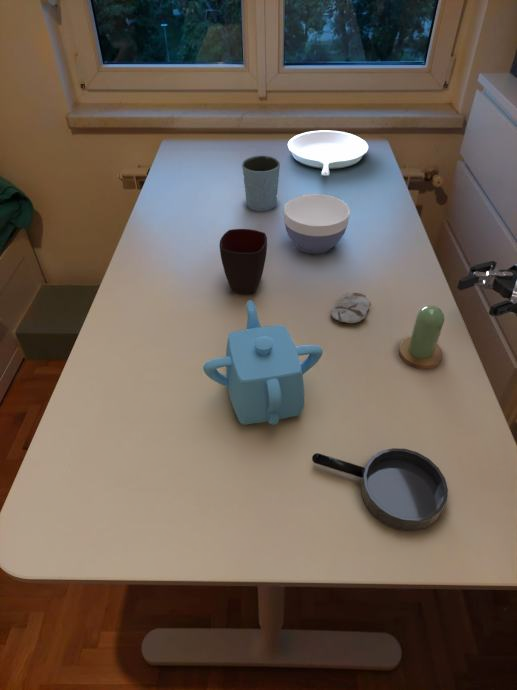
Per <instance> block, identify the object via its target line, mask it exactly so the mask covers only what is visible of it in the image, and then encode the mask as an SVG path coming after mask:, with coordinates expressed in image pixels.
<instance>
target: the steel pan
mask: <svg viewBox="0 0 517 690" xmlns="http://www.w3.org/2000/svg"><path fill="white" fill-rule="evenodd" d="M364 468H365V471H364V474H363V478H362V479H361V483H360V485H361V486H360V491H361V497H362V500H363V502H364V504H365V506H366V508H367V510H369V512H370V513H371V514H372V515H373V516H374V517H375V518H376V519H377V520H378V521H380V522H381V523H383V525H386V526H388V527H391V528H392V529H395V530H399V531H405V532H414V531H421V530H424V529H426V528H428V527H430V526H431V525H433V524H434V523H435V522H436V521H437V520H438V518H439V517H440V515H441V514H442V512H443V510H444V507H445V506H446V504H447V501H448V493H449V489H448V485H447V481H446V478H445V476H444V474H443V473H442V471H441V469H440V468H439V467H438V465H436V464H435V463H434V462H433V461H432V460H431V459H430V458H428V456H427V457H426V456H425V455H423V454H421V453H419V452H417V451H416V450H415V451H414V450H411V449H407V448H399V447H396V448H395V447H392V448H388V449H383V450H381V451H379V452H377V453H376V454H374V455H372V456H371V457H370V459H369V460H368V461H367V463H366V464H365V466H364Z"/></svg>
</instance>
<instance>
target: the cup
mask: <svg viewBox="0 0 517 690" xmlns="http://www.w3.org/2000/svg"><path fill="white" fill-rule="evenodd" d="M218 246H219V253H220V259H221V263H222V267H223V271H224V275H225V277H226V280H227V284H228V286H229V288H230V290H231V291H232V292H233V293H236V294H239V295H253V294H256V292H257V290H258V289H259V286H260V283H261V280H262V276H263V273H264V268H265V264H266V259H267V251H268V237H267V234H266V232H263V231H260V230H255V229H250V228H234V229H229V230H227V231H226V232H225V233H224V234H223V235H222V236H221V238H220V240H219V245H218Z"/></svg>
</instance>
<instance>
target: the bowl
mask: <svg viewBox="0 0 517 690" xmlns="http://www.w3.org/2000/svg"><path fill="white" fill-rule="evenodd" d="M350 216H351V209H350V207H349V205H348V204H347V203H346V202H345V201H343V200H342V199H340V198H337V197H336V196H332V195H328V194H320V193H308V194H302V195H298V196H295V197H292V198H291V199H289V200H288V201H287V202H286V203H285V204H284V207H283V221H284V226H285V231H286V234H287V235H288V237H289V239H290V240H291V242H292V243H293V244H295V245H296V247H297V248H298V249H299V250H300V251H302V252H305V253H308V254H316V255H317V254H323V253H326V252H328V251H330V250H331V249H332V248H333V247H334V246H336V245H337V244H338V243H339V242H340V241H341V239H342V238H343V237H344V235H345V233H346V229H347V228H348V225H349V220H350Z"/></svg>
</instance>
